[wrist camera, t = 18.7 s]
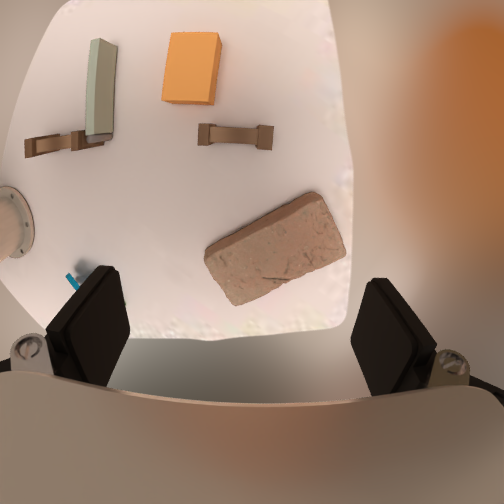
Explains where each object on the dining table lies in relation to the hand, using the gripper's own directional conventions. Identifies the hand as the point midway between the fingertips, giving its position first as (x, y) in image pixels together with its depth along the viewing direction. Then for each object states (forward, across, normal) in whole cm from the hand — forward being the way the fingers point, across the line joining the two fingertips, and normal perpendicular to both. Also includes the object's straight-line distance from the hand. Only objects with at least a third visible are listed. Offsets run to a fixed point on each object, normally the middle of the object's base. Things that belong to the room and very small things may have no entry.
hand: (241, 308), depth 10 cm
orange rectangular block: (+26, +6, -13) cm, 30 cm away
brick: (+27, -4, +8) cm, 28 cm away
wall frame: (+26, +13, -6) cm, 30 cm away
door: (+26, +18, -12) cm, 34 cm away
